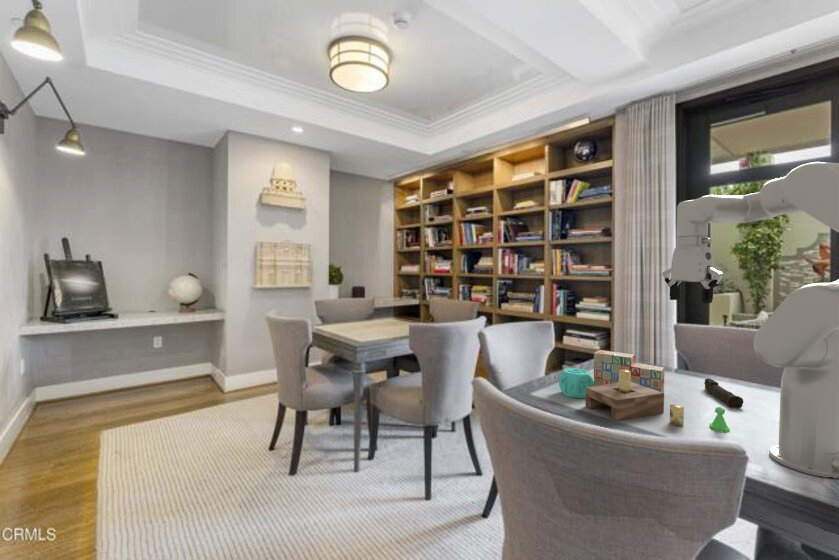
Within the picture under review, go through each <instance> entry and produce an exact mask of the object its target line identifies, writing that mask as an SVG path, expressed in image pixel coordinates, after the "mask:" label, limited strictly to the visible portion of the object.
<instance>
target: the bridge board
mask: <svg viewBox="0 0 839 560" xmlns="http://www.w3.org/2000/svg"><path fill="white" fill-rule="evenodd" d="M618 386H619V383H615V384H607V385H600V386H596V385H594V386H592V387H586V398H585V407H586V408H587V409H590V410H591V409H597V408H603V407H611V408H610V409H611V410H610V411H611V414H610V419H611V418H612V419H611V420H613V419H614V421H615V420H616V421H615V422H620V421H619V420H621V421H626V420H631V419H636V418H638V419H639V418H643V417H647V416H648V417H649V416H654V415H659V414H664V413H665V392H664V393H663V392H660V391H657V390H654V389H651V388H648V387H645V386H642V385H639V384H636V383H633V382H631V384H630V393H622V392H619V391H618Z"/></svg>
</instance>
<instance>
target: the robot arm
mask: <svg viewBox="0 0 839 560" xmlns="http://www.w3.org/2000/svg"><path fill="white" fill-rule="evenodd" d="M676 207H677V209H676V241H675V242H676V245H675V248H674V249H673V253H672V257H671V265H670V268H668V269H666V270H664V271H663V272H661V274H662V276H663V279H664V282H665V284H667V287H669V300H670V301H679V300H680V286H679V285H680V283H682V282H690V283H691V282H692V283H693V282H694V283H699V282H700V283H701V285H702V286H703V289H702V291H701V292H702V294H701V296H702V297H701V303H703V304H711V303H713V299H714V289H716V287H717V286H718V285H720V283H721V280H722V279H723V277H724V275H725V274H724V272H722V271H720V270H717V269H716V268H715V264H714V256H713V252H712V248H711V247H708V245H709V244H710V243H711V244H712V238H711V237H709V224H729V225H730V224H732V225H733V224H735V225H736V224H744V223H745V224H746V223H751V222H757V221H763V220H768V219H772V218H776V217H778V216H782V215H788V214H794V213H800V212H803V213H805V214H807V215H808V216H810V217H812V218H814V219H815V220H817V221H819V222H820V223H822V224H823V225H824V226H827V227H829V229H832V230H834V231H836V232H837V233H839V162H837V163H836V162H824V161H823V162H821V161H814V162H808V163H805V164H801V165H799V166H797V167H795V168H793V169H791V171H789V172H788V173H787V174H786V175H785V176H783V177H780V178H774V179H771V180H769V181H767V182H765V183H764V184H763V186H762V187H761V189H760V191H758V192H754V193H749V194H744V195H728V194H727V195H725V194H723V195H722V194H721V195H719V194H718V195H717V194H715V195H714V194H708V195H703V196H701V197H698V198H696V199H690V200H684V201H681V202H679V203H678V205H677V206H676ZM753 348H754V352H755V354H756V356H758V358H759V359H760V360H761V361H762V362H763V363H765V364H768V365H770V366H773V367H777V368H784V370H783V372H782V374H781V381H780V395H779V396H780V397H779V423H778V426H779V427H778V445H773V446H771V447H769V449H768V452H769V456H770V458H772V459H773V460H774V461H776V462H778V463H779V464H781V465H782V466H785V467H787V468H789V469H792V470H795V471H797V472H800V473H805V474H808V475H811V476H815V477H820V476H821V478H827V477H833V478H832V479H839V278H838V279H837V280H835V281H832V282H816V283H809V284H806V285H803V286H801V287H798V288H797V289H795V290H794V291H792V292H791V293H790V294H788V295H787V296H786V297H785V298H784V299H783V301H781V303H780V304H779V305H778V306H777V307H776V308H775V310H774V311H773V312H772V313H771V314H770V315H769V316H768V317H767V319H766V320H765V321H764V322H763V323H762V325H761V326H759V328H758V330H757V331H756V333H755V334H754V339H753Z"/></svg>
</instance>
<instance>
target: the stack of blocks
mask: <svg viewBox="0 0 839 560" xmlns="http://www.w3.org/2000/svg"><path fill="white" fill-rule="evenodd" d="M620 369H625V370H629V371H631V382H633V383H636V384H639V385H642V386H645V387H648V388H651V389H654V390H657V391H660V392H663V393H664V394H665V367H664V366H657V365H650V364H645V363H638V362H637V363H636V355H635V354H632V353H625V352H619V351H618V352H616V351H609V350H602V349H599V350H597V351H595V352H593V382H594V386H596V385H597V386H600V385H607V384H615V383H619V370H620Z"/></svg>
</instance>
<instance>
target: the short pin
mask: <svg viewBox="0 0 839 560" xmlns="http://www.w3.org/2000/svg"><path fill="white" fill-rule="evenodd" d="M684 415H685V407H684V406H683V405H680V404H676V403H675V404H674V403H672V404H670V405H669V424H670V425H672V426H675V427H684V423H685V421H684V419H685V418H684V417H685V416H684Z"/></svg>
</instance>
